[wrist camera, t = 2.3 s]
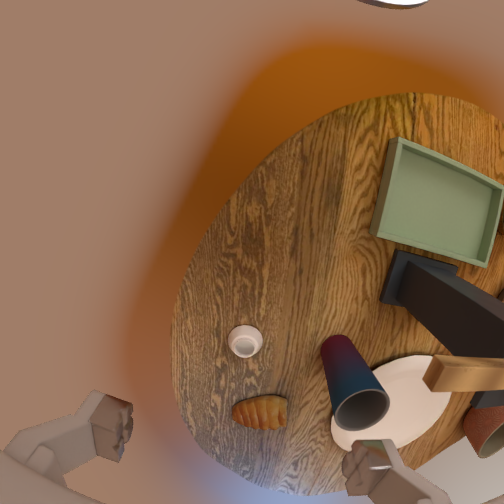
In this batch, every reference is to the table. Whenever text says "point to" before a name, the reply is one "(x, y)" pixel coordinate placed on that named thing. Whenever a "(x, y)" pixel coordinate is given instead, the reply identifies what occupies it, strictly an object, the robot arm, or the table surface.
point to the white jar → (245, 341)
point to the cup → (352, 386)
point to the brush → (464, 374)
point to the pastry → (261, 412)
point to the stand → (449, 311)
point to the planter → (485, 430)
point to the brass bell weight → (501, 220)
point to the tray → (436, 204)
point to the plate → (400, 404)
